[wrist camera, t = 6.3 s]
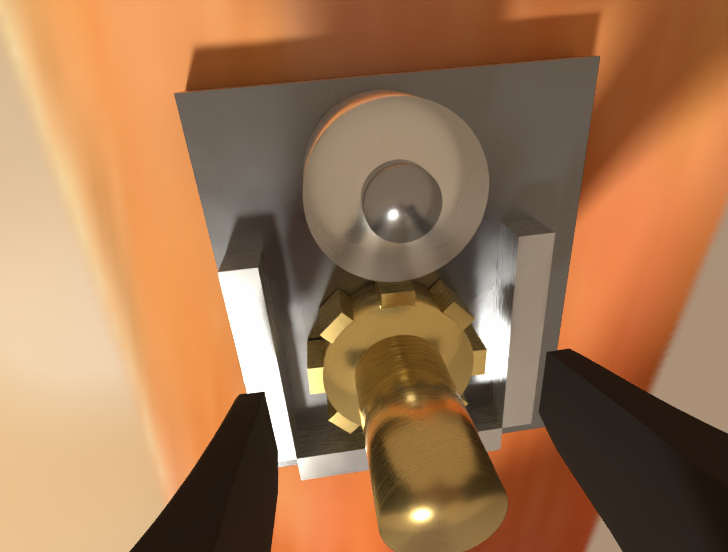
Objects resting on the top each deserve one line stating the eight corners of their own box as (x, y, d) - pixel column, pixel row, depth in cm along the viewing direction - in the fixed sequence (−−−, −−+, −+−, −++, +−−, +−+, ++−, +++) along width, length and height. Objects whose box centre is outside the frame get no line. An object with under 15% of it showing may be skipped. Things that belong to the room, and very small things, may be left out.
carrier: (533, 408, 17) (594, 500, 14) (269, 447, 17) (259, 555, 13) (578, 56, 12) (700, 54, 8) (184, 91, 11) (124, 104, 7)
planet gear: (464, 397, 15) (550, 576, 10) (315, 414, 15) (321, 612, 9) (475, 261, 13) (594, 399, 8) (299, 277, 13) (296, 436, 7)
